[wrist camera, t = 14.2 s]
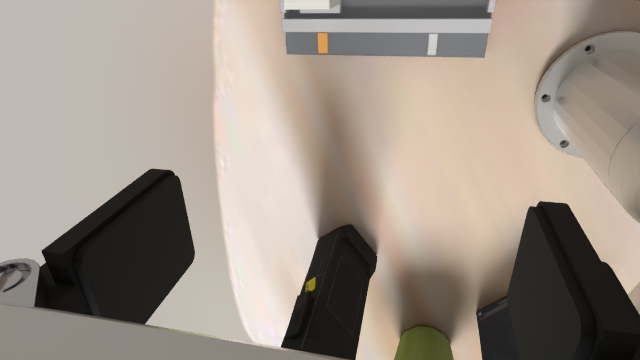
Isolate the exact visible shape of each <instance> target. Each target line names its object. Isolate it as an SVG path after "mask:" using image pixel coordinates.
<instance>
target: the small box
mask: <svg viewBox="0 0 640 360" xmlns="http://www.w3.org/2000/svg"><path fill="white" fill-rule="evenodd" d="M507 296H508V295H507ZM507 296H506V297H504V298H502V299H500V300H498V301H496V302H495V303H493V304H491V305H489V306H487V307H485V308H483V309H481V310H480V311H478V312H476V315H477V322H478V329H479V336H480V344H481V352H482V359H483V360H521V359H520V354H519V350H518V346H517V342H516V338H515V333H514V329H513V325H512V321H511V317H510V313H509V308H508V302H507Z"/></svg>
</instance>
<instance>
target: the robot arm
mask: <svg viewBox="0 0 640 360" xmlns="http://www.w3.org/2000/svg"><path fill="white" fill-rule="evenodd" d="M588 45H589V49H588V50H585V47H586V46H588ZM544 94H546V97H545V98H542V96H543V95H544ZM534 113H535V119H536V122H537V125H538V127H539V129H540V131H541V132H542V134H543V136H544V137H545V138H546V139H547V140H548V141H549V142H550V144H551V145H553V146H554V147H555V148H557V149H558V150H560V151H562V152H564V153H566V154H569V155H571V156H575V157H579V158H583V159H584V160H585V161H586V162H587V164H588V165H589V166H590V167H591V169H592V170H593V171H594V172H595V174H596V175H597V176H598V177H599V179H600V180H601V181H602V182H603V184H604V185H605V186H606V187H607V189H608V190H609V191H610V192H611V194H612V195H613V196H614V197H615V198H616V200H617V201H618V202H619V204H620V205H621V206H622V207H623V208H624V210H625V211H626V212H627V213H628V214H629V215H630V216H631V217H632V218H633V219H635V220H636V221H637V222H639V223H640V33H639V32H633V31H614V32H608V33H602V34H599V35H596V36H593V37H590V38H587V39H585V40H583V41H581V42H579V43H578V44H576V45H574V46H572V47H571V48H570V49H568V50H567V51H565V52H564V53H563V54H561V55H560V56H559V57H558V58H557V59H556V60H555V61H554V62H553V63H552V64H551V66H550V67H549V68H548V70H547V71H546V72H545V74H544V75H543V77H542V79H541V81H540V83H539V85H538V88H537V91H536V95H535V101H534ZM563 140H564V142H563V143H560V142H561V141H563ZM42 254H43V256H44V258H45V261H46V263H45V264H44V265H42V266H41V267H40V266H39V264H38V263H37V262H36V261H34V260H31V259H14V260H9V261H5V262H2V263H0V360H348V359H343V358H337V357H331V356H326V355H320V354H315V353H309V352H303V351H297V350H292V349H286V348H280V347H274V346H269V345H263V344H257V343H251V342H245V341H239V340H234V339H228V338H222V337H216V336H210V335H205V334H199V333H193V332H187V331H181V330H175V329H169V328H163V327H157V326H150V325H145V323H146V322H147V321H148V319H149V318H150V317H151V316H152V314H153V313H154V312H155V310H156V309H157V308H158V306H159V305H160V304H161V302H162V301H163V300H164V299H165V297H166V296H167V295H168V294H169V292H170V291H171V290H172V288H173V287H174V286H175V284H176V283H177V282H178V281H179V279H180V278H181V277H182V275H183V274H184V273H185V272H186V270H187V269H188V268H189V266H190V265H191V264H192V262H193V260H194V255H195V250H194V245H193V240H192V236H191V231H190V226H189V221H188V216H187V212H186V206H185V202H184V197H183V192H182V187H181V183H180V179H179V177H178V176H175V174H174V172H173V171H171V170H161V169H150V170H148V171H147V172H146V173H144V174H143V175H142V176H140V177H139V178H138V179H136V180H135V181H134V182H132V183H131V184H130V185H128V186H127V187H126V188H124V189H123V190H122V191H120V192H119V193H118V194H116V195H115V196H114V197H112V198H111V199H110V200H108V201H107V202H106V203H104V204H103V205H102V206H100V207H99V208H98V209H96V210H95V211H94V212H93V213H91V214H90V215H88V216H87V217H86V218H84V219H83V220H82V221H80V222H79V223H78V224H77V225H75V226H74V227H73V228H71V229H70V230H69V231H67V232H66V233H65V234H63V235H62V236H61V237H59V238H58V239H57V240H55V241H54V242H53V243H52V244H50V245H49V246H47V247H46V248H45V249H43V250H42ZM507 302H508V308H509V313H510V317H511V321H512V325H513V329H514V333H515V338H516V342H517V346H518V350H519V354H520V359H521V360H640V282H639V283H638V284H637V285H636V287H635V288H634V289H633V290H632V291H631V292H630V293H629V294H628V295H627V293H626V291H625V290H624V288H623V286H622V285H621V283H620V281H619V280H618V278H617V277H616V275H615V273H614V272H613V270H612V268H611V267H610V266H609V265H608V264H607V263H605V262H601V260H600V258H599V257H598V255H597V253H596V252H595V250H594V248H593V247H592V245H591V243H590V241H589V240H588V238H587V236H586V235H585V233H584V231H583V229H582V228H581V226H580V224H579V223H578V221H577V219H576V218H575V216H574V214H573V212H572V211H571V209H570V207H569V206H568V205H567V204H565V203H554V202H542V201H540V202H539V203H538V205H537V207H532V206H530V207H529V209H528V212H527V216H526V220H525V224H524V228H523V232H522V236H521V240H520V244H519V248H518V252H517V256H516V260H515V265H514V269H513V273H512V277H511V281H510V285H509V289H508V296H507Z"/></svg>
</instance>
